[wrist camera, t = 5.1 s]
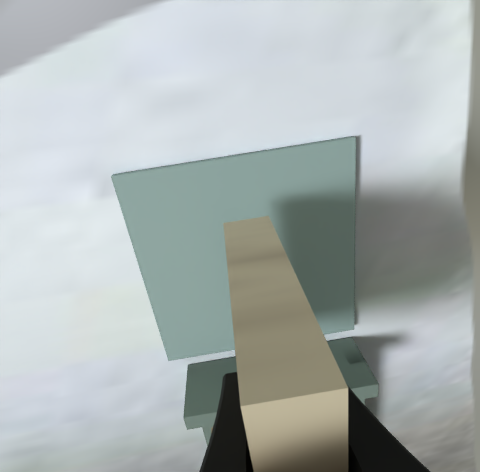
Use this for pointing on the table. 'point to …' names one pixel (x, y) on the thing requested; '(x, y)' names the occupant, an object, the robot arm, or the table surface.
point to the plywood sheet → (282, 359)
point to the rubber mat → (234, 209)
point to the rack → (211, 373)
